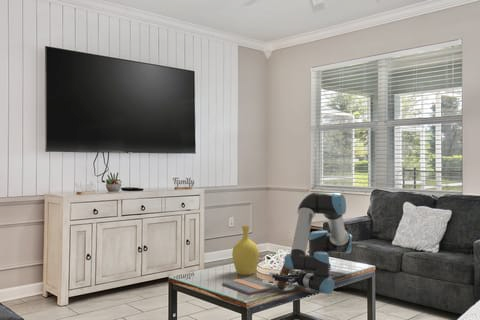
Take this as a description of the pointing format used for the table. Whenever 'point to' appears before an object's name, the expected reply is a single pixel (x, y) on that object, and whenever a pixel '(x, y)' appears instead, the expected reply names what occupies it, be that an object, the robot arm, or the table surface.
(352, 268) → the table surface
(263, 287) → the board
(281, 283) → the wooden block set
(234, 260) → the vase
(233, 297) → the table surface
